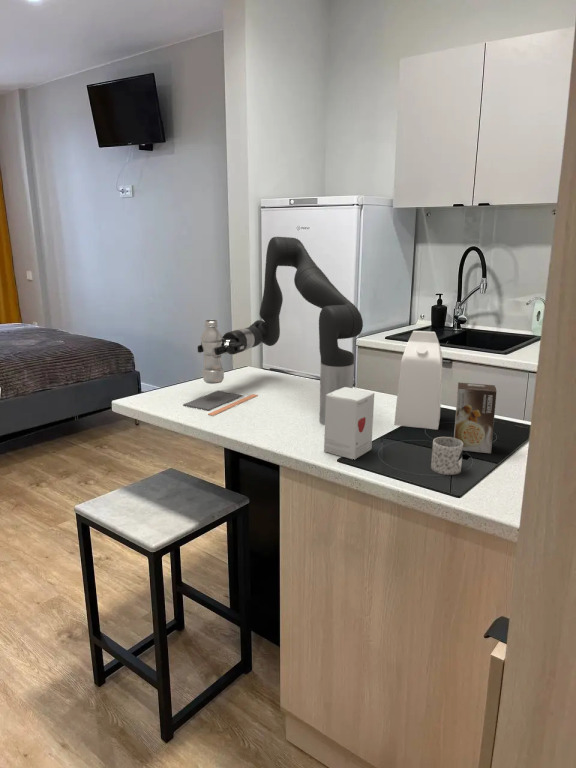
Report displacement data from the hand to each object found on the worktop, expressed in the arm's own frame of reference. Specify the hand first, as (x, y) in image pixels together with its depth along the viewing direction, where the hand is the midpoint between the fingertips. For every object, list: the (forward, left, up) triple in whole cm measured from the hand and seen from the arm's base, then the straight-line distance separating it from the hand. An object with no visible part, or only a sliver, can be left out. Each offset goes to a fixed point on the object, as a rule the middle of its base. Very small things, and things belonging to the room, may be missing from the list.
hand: (207, 350), depth 171 cm
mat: (0, -2, -17) cm, 17 cm away
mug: (-77, +11, -17) cm, 80 cm away
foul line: (-8, -2, -17) cm, 19 cm away
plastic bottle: (0, -3, -11) cm, 11 cm away
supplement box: (-54, +14, -17) cm, 58 cm away
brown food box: (-80, -4, -17) cm, 82 cm away
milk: (-62, -17, -17) cm, 67 cm away
